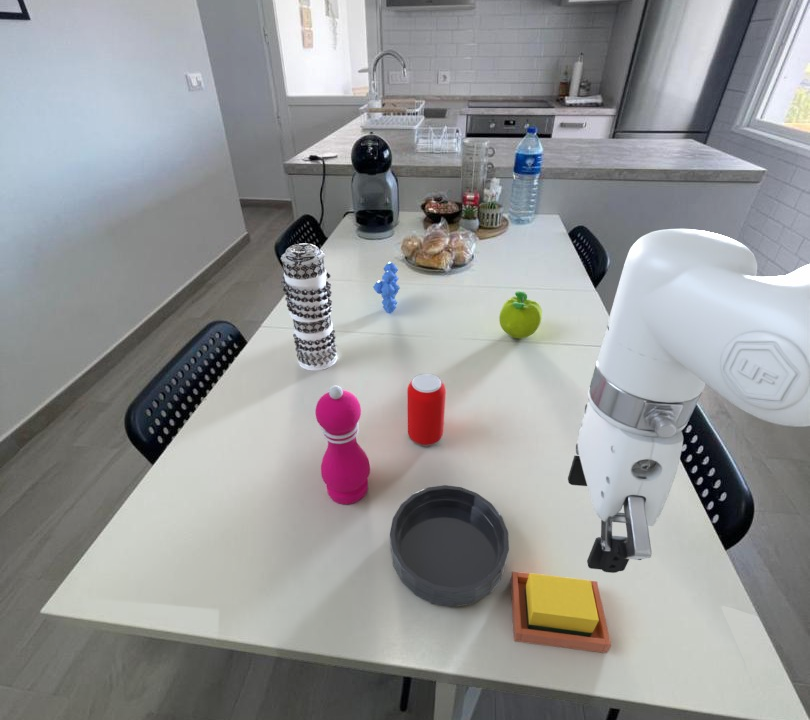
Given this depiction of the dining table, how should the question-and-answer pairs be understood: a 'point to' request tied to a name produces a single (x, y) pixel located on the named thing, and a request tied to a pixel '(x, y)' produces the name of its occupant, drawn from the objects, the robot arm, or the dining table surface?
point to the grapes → (388, 287)
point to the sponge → (560, 605)
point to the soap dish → (523, 634)
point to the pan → (449, 545)
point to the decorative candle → (309, 306)
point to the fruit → (520, 316)
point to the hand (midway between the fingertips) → (592, 521)
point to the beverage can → (425, 409)
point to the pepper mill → (342, 446)
